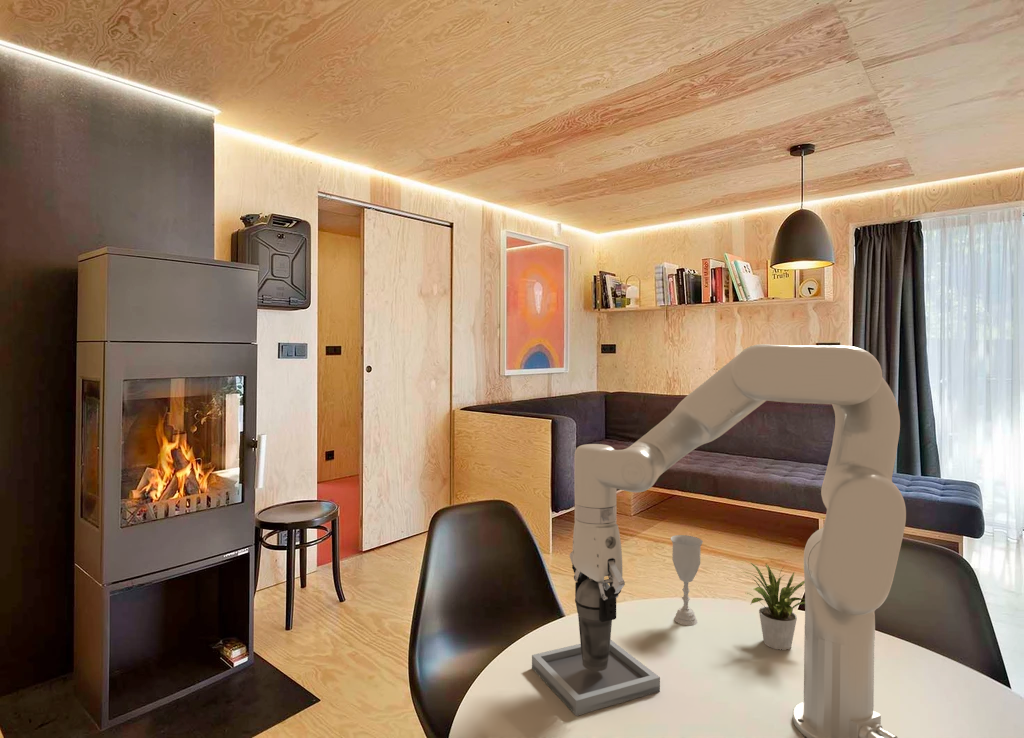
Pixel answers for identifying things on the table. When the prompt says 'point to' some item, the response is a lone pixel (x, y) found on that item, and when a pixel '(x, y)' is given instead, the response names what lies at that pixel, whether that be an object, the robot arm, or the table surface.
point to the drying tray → (594, 678)
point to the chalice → (686, 571)
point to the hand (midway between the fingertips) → (595, 610)
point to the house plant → (777, 611)
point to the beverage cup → (592, 626)
